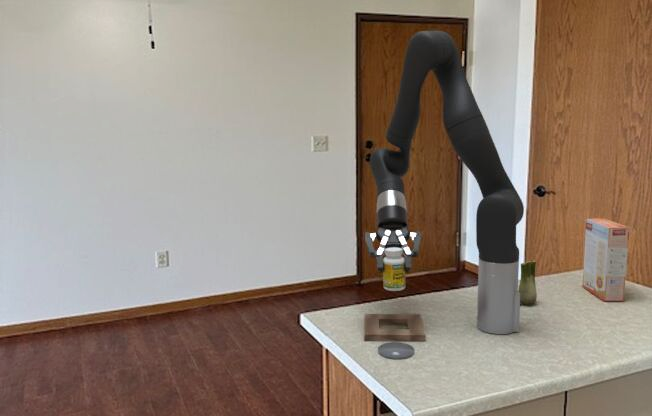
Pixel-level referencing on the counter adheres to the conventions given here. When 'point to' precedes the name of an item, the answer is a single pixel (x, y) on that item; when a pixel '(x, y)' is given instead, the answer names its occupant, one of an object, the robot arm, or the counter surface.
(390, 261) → the supplement bottle
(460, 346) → the counter surface
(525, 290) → the fennel bulb
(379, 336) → the pocket board
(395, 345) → the coaster
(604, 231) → the cracker box
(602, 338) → the counter surface
